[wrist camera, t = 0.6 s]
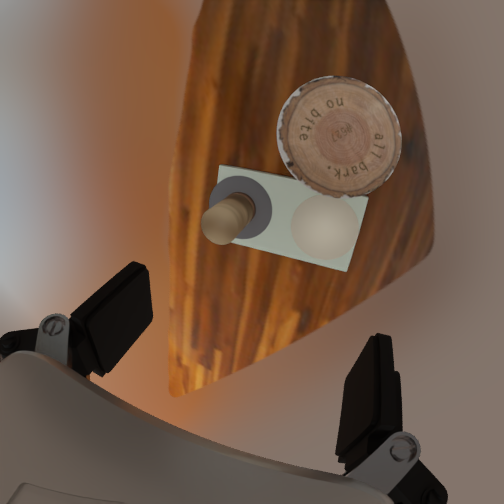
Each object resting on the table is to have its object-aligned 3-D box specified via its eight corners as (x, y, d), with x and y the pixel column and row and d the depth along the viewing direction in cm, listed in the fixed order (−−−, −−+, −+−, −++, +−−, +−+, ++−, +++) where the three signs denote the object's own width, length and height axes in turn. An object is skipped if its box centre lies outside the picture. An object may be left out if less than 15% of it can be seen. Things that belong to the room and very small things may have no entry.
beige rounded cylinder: (225, 189, 42) (202, 203, 35) (258, 195, 41) (240, 211, 34) (222, 220, 45) (199, 239, 38) (253, 227, 44) (235, 249, 37)
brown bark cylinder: (371, 140, 34) (423, 164, 13) (330, 163, 37) (319, 220, 16) (345, 98, 33) (356, 54, 11) (304, 122, 36) (252, 117, 14)
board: (215, 163, 42) (212, 164, 41) (367, 196, 38) (368, 198, 37) (209, 234, 48) (206, 236, 47) (346, 268, 43) (346, 272, 42)
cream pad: (297, 187, 39) (297, 187, 39) (366, 204, 37) (366, 204, 37) (285, 250, 44) (285, 250, 44) (348, 266, 42) (348, 266, 42)
